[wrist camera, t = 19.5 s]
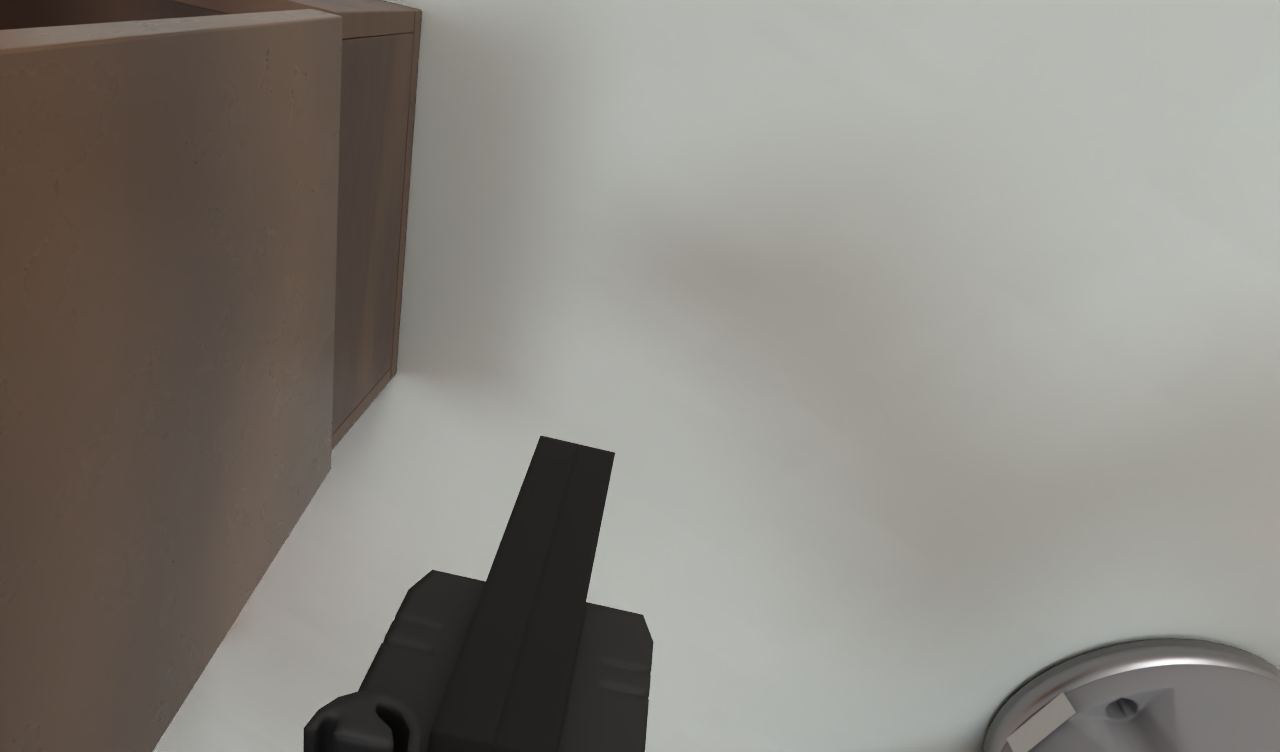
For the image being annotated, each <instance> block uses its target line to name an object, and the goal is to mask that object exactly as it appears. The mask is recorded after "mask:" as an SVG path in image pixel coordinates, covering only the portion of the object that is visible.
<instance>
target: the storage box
mask: <svg viewBox="0 0 1280 752" xmlns="http://www.w3.org/2000/svg"><path fill="white" fill-rule="evenodd" d="M301 9H314V10H318V11H323V12H327V13H331V14H336V15H340V16H342V19H343V22H342V61H341V100H340V138H339V177H338V216H337V254H336V293H335V332H334V371H333V409H332V448H331V451H332V450H333V448H334V447H335V446H336V445H337V444H338V442H339V441H340V440H341V439H342V438H343V436H344V435H345V434H346V433H347V432H348V430H349V429H350V428H351V427H352V426H353V424H354V423H355V422H356V421H357V420H358V418H359V417H360V416H361V415H362V414H363V412H364V411H365V410H366V409H367V408H368V407H369V405H370V404H371V403H372V402H373V401H374V399H375V398H376V397H377V396H378V395H379V393H380V392H381V391H382V390H383V389H384V387H385V386H386V385H387V384H388V383H389V381H390V380H391V379H392V378H393V377H394V375H395V374H396V369H397V355H398V340H399V326H400V312H401V298H402V284H403V270H404V256H405V242H406V227H407V213H408V199H409V185H410V171H411V157H412V143H413V128H414V114H415V100H416V86H417V72H418V58H419V44H420V30H421V15H422V11H421V10H419V9H415V8H411V7H407V6H403V5H399V4H395V3H391V2H386V1H382V0H0V30H7V29H22V28H37V27H52V26H66V25H81V24H96V23H110V22H125V21H140V20H154V19H169V18H184V17H199V16H213V15H228V14H243V13H257V12H272V11H287V10H301Z"/></svg>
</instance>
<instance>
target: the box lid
mask: <svg viewBox="0 0 1280 752" xmlns="http://www.w3.org/2000/svg"><path fill="white" fill-rule="evenodd" d="M342 22H343V19H342V16H340V15H336V14H331V13H327V12H323V11H318V10H314V9H301V10H287V11H272V12H257V13H243V14H228V15H213V16H199V17H184V18H169V19H154V20H140V21H125V22H110V23H96V24H81V25H66V26H52V27H37V28H22V29H7V30H0V752H152V751H153V750H154V748H155V746H156V745H157V743H158V742H159V740H160V739H161V737H162V735H163V734H164V732H165V731H166V729H167V727H168V726H169V724H170V723H171V721H172V720H173V718H174V716H175V715H176V713H177V712H178V710H179V708H180V707H181V705H182V704H183V702H184V700H185V699H186V697H187V696H188V694H189V693H190V691H191V689H192V688H193V686H194V685H195V683H196V681H197V680H198V678H199V677H200V675H201V674H202V672H203V670H204V669H205V667H206V666H207V664H208V662H209V661H210V659H211V658H212V656H213V655H214V653H215V651H216V650H217V648H218V647H219V645H220V643H221V642H222V640H223V639H224V637H225V636H226V634H227V632H228V631H229V629H230V628H231V626H232V624H233V623H234V621H235V620H236V618H237V617H238V615H239V613H240V612H241V610H242V609H243V607H244V605H245V604H246V602H247V601H248V599H249V598H250V596H251V594H252V593H253V591H254V590H255V588H256V586H257V585H258V583H259V582H260V580H261V579H262V577H263V575H264V574H265V572H266V571H267V569H268V567H269V566H270V564H271V563H272V561H273V560H274V558H275V556H276V555H277V553H278V552H279V550H280V548H281V547H282V545H283V544H284V542H285V541H286V539H287V537H288V536H289V534H290V533H291V531H292V529H293V528H294V526H295V525H296V523H297V522H298V520H299V518H300V517H301V515H302V514H303V512H304V510H305V509H306V507H307V506H308V504H309V502H310V501H311V499H312V498H313V496H314V495H315V493H316V491H317V490H318V488H319V487H320V485H321V483H322V482H323V480H324V479H325V477H326V476H327V474H328V472H329V471H330V469H331V448H332V409H333V371H334V332H335V293H336V254H337V216H338V177H339V138H340V100H341V61H342Z"/></svg>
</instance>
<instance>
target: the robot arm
mask: <svg viewBox="0 0 1280 752" xmlns="http://www.w3.org/2000/svg"><path fill="white" fill-rule="evenodd" d="M614 455H615V453H614V452H610V451H605V450H601V449H597V448H592V447H588V446H583V445H579V444H575V443H570V442H566V441H562V440H557V439H553V438H549V437H544V436H540V439H539V441H538V444H537V447H536V449H535V452H534V455H533V457H532V460H531V463H530V465H529V468H528V471H527V473H526V476H525V479H524V481H523V484H522V487H521V489H520V492H519V495H518V497H517V500H516V503H515V506H514V508H513V511H512V514H511V516H510V519H509V522H508V524H507V527H506V530H505V532H504V535H503V538H502V540H501V543H500V546H499V548H498V551H497V554H496V556H495V559H494V562H493V564H492V567H491V570H490V572H489V575H488V578H487V580H486V582H485V581H480V580H476V579H471V578H467V577H462V576H458V575H453V574H449V573H444V572H440V571H435V570H432V571H430V572H429V573H428V574H427V575H426V576H424V577H423V578H422V579H421V580H420V581H418V582H417V583H416V584H415V585H414V586H412V587H411V588H410V589H409V590H408V592H407V594H406V596H405V598H404V600H403V602H402V604H401V606H400V608H399V610H398V612H397V614H396V616H395V620H394V621H393V622H392V624H391V626H390V628H389V630H388V632H387V634H386V636H385V639H384V642H383V643H382V644H381V646H380V648H379V650H378V652H377V654H376V656H375V658H374V660H373V662H372V664H371V666H370V668H369V670H368V672H367V674H366V676H365V678H364V680H363V682H362V684H361V686H360V688H359V690H358V692H355V693H352V694H348V695H344V696H341V697H338V698H336V699H335V700H333V701H332V702H330V703H329V704H327V705H325V706H324V707H322V708H321V709H319V710H318V711H317V712H316V714H315V715H314V716H313V717H312V719H311V720H310V721H309V722H308V724H307V725H306V726H305V727H304V752H645V741H646V728H647V715H648V702H649V700H648V697H649V690H650V677H651V676H650V672H651V664H652V651H653V640H652V638H651V635H650V632H649V630H648V627H647V624H646V622H645V619H644V617H643V615H641V614H637V613H632V612H628V611H623V610H619V609H614V608H610V607H605V606H601V605H596V604H592V603H587V602H586V598H587V593H588V588H589V583H590V577H591V572H592V567H593V562H594V557H595V552H596V547H597V542H598V537H599V531H600V526H601V521H602V516H603V511H604V506H605V501H606V496H607V491H608V486H609V480H610V475H611V470H612V465H613V460H614ZM983 752H1280V671H1279V670H1278V669H1277V668H1276V667H1275V666H1273V665H1272V664H1270V663H1268V662H1267V661H1265V660H1264V659H1262V658H1260V657H1258V656H1256V655H1253V654H1251V653H1249V652H1246V651H1244V650H1241V649H1238V648H1235V647H1231V646H1227V645H1224V644H1219V643H1214V642H1208V641H1200V640H1191V639H1155V640H1145V641H1136V642H1130V643H1124V644H1119V645H1114V646H1110V647H1106V648H1102V649H1099V650H1095V651H1092V652H1089V653H1086V654H1083V655H1080V656H1078V657H1075V658H1072V659H1070V660H1068V661H1066V662H1063V663H1061V664H1059V665H1057V666H1055V667H1053V668H1051V669H1050V670H1048V671H1046V672H1044V673H1042V674H1041V675H1039V676H1038V677H1036V678H1035V679H1033V680H1032V681H1030V682H1029V683H1028V684H1026V685H1025V686H1024V687H1022V688H1021V689H1020V690H1019V691H1018V692H1017V693H1015V694H1014V695H1013V696H1012V697H1011V698H1010V699H1009V700H1008V701H1007V702H1006V704H1005V705H1004V706H1003V707H1002V708H1001V710H1000V711H999V712H998V714H997V715H996V716H995V718H994V720H993V722H992V723H991V725H990V727H989V730H988V732H987V734H986V738H985V742H984V747H983Z"/></svg>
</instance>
